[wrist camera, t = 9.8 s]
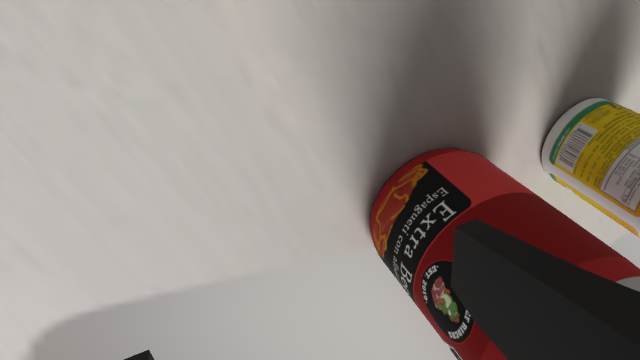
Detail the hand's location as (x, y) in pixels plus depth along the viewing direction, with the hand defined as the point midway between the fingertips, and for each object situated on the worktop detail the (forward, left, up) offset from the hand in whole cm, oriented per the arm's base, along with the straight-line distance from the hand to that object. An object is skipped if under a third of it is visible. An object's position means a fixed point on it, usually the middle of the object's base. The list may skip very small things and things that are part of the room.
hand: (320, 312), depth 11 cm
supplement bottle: (+20, -7, -11) cm, 24 cm away
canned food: (+10, -8, -11) cm, 17 cm away
